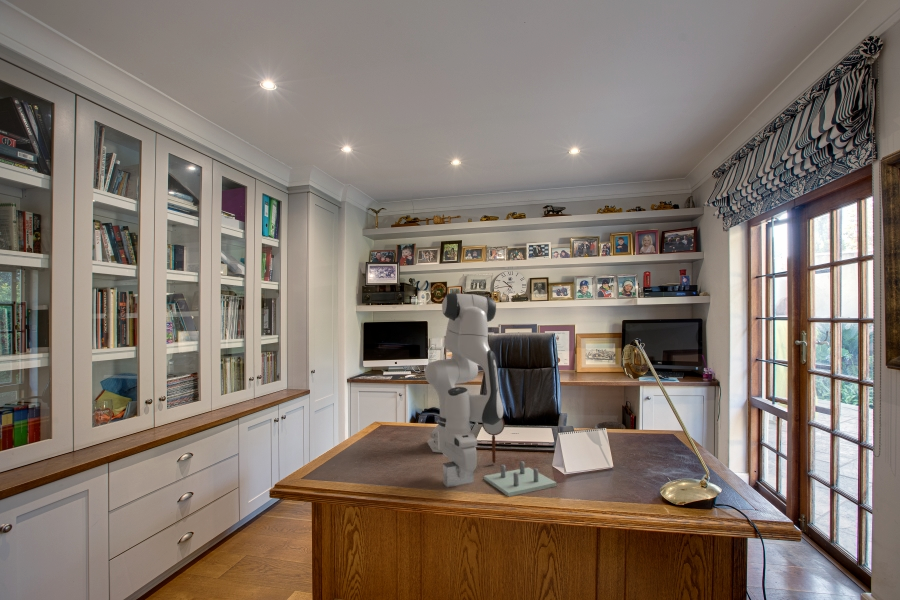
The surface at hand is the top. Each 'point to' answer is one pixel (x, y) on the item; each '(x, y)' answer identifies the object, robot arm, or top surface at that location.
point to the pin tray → (519, 480)
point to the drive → (455, 475)
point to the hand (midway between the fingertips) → (458, 475)
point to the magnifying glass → (494, 431)
